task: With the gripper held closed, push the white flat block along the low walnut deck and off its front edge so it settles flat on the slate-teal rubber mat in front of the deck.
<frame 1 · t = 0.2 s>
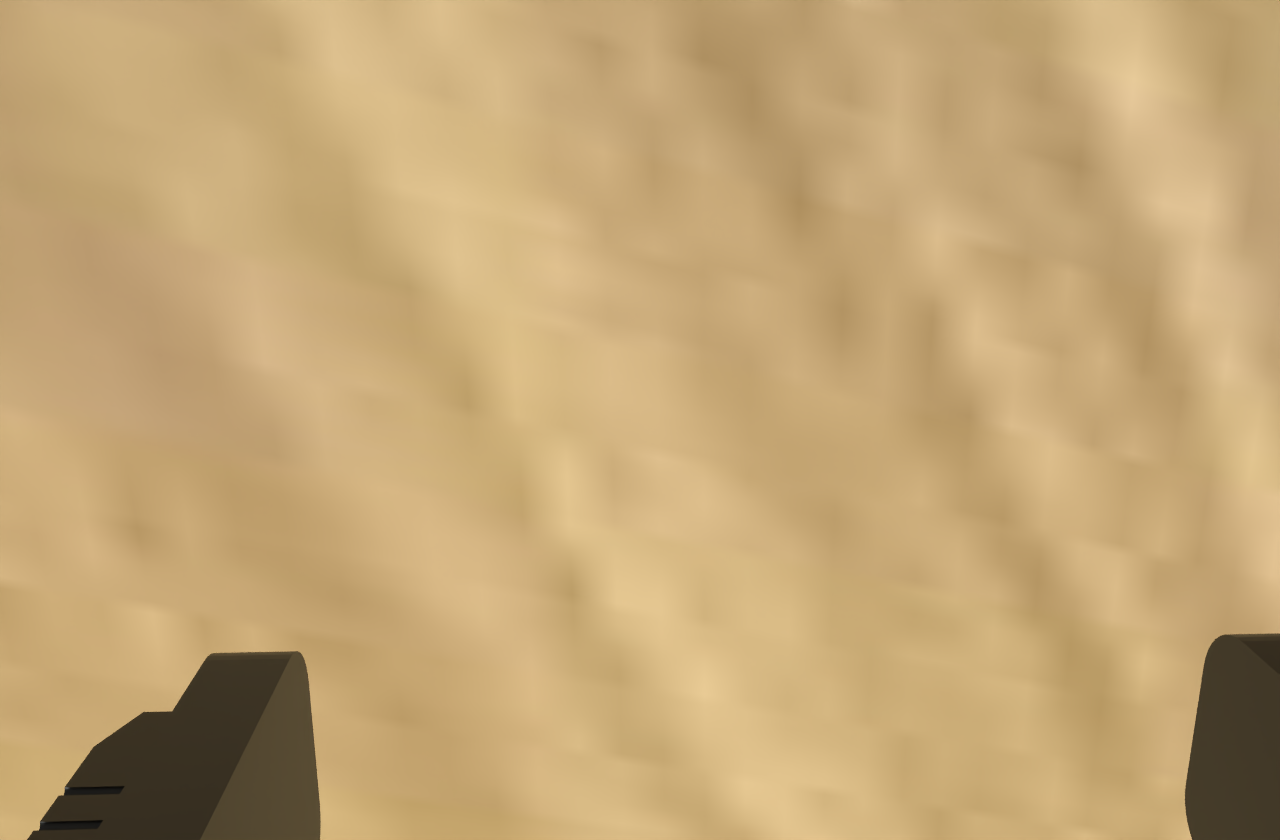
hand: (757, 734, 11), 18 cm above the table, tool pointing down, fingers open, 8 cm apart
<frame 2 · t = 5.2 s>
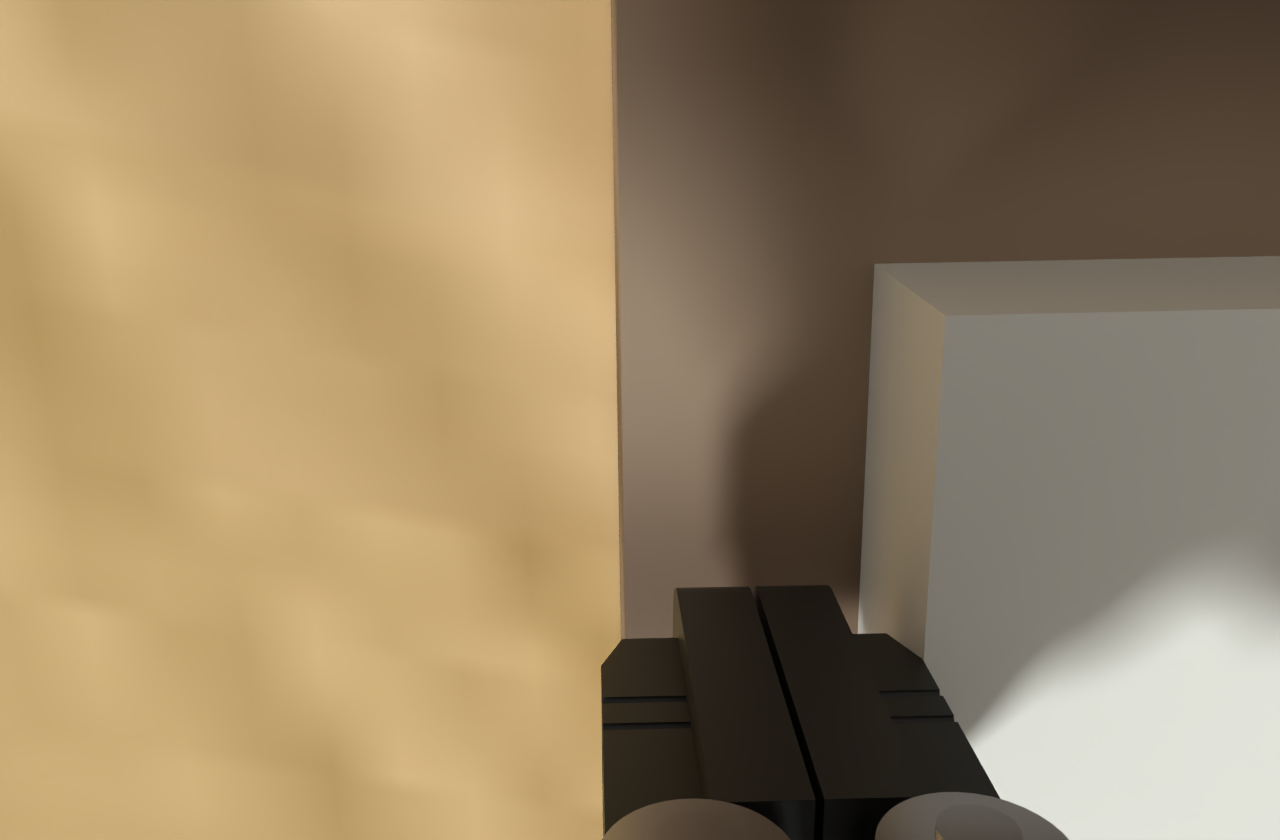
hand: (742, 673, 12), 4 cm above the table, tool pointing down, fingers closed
deck: (1141, 482, 16), on the table
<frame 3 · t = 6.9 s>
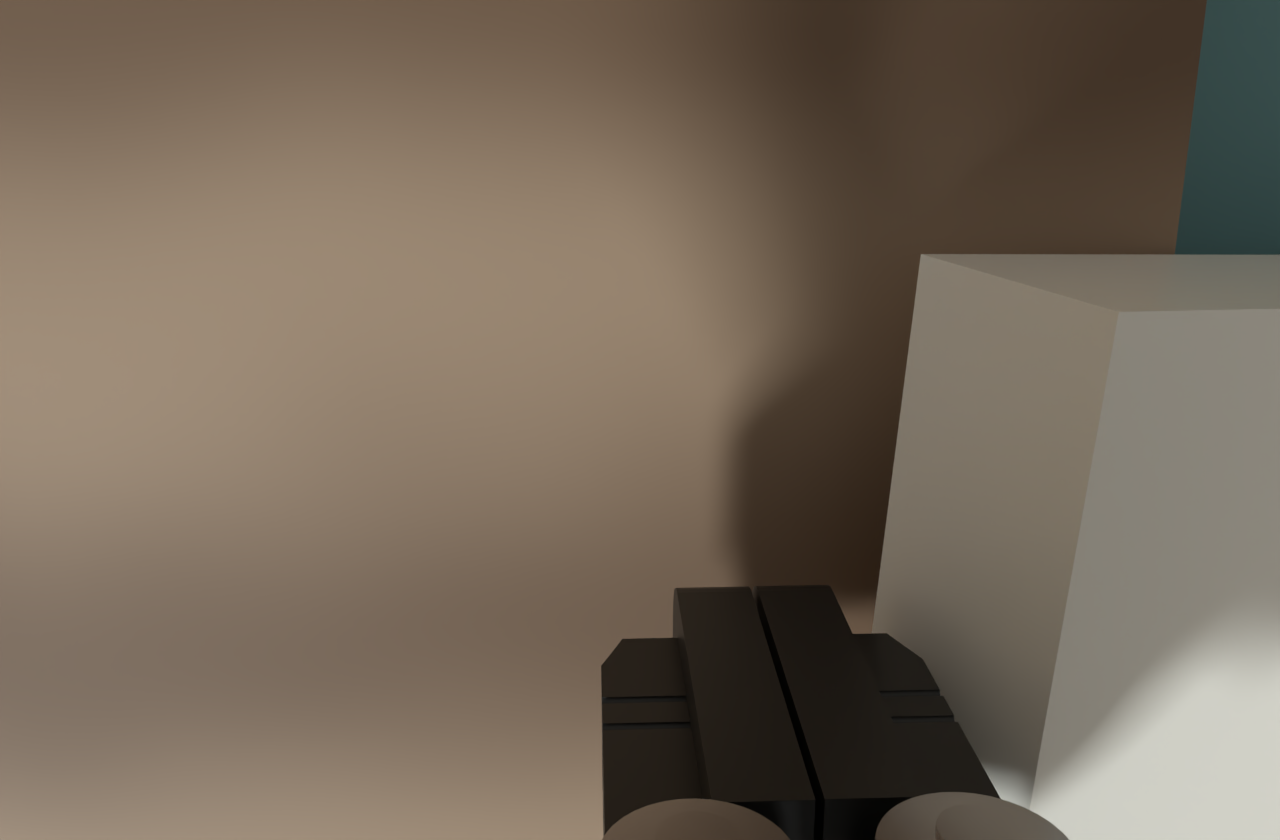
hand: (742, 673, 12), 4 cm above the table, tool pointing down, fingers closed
deck: (509, 505, 16), on the table
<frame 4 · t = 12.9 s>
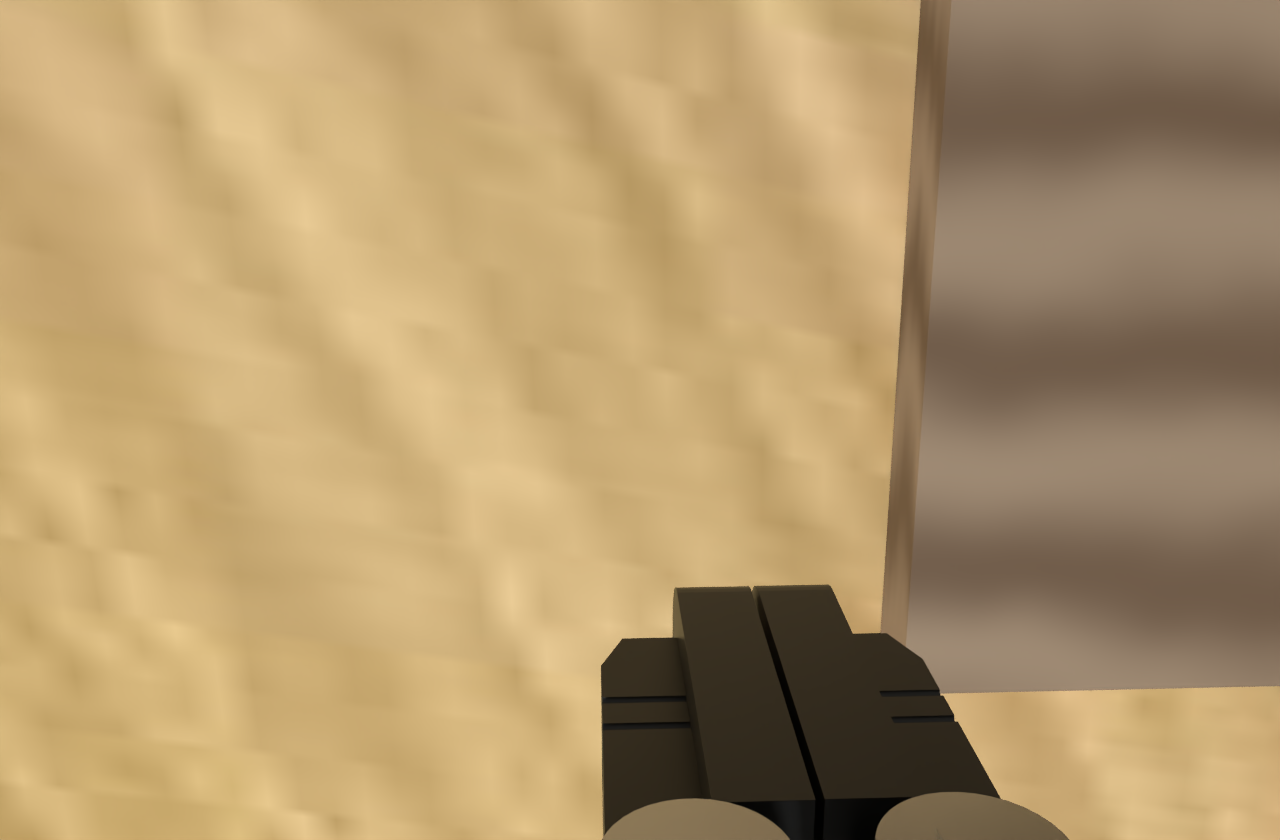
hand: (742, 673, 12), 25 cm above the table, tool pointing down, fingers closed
deck: (1125, 321, 37), on the table
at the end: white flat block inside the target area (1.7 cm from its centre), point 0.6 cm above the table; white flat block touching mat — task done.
